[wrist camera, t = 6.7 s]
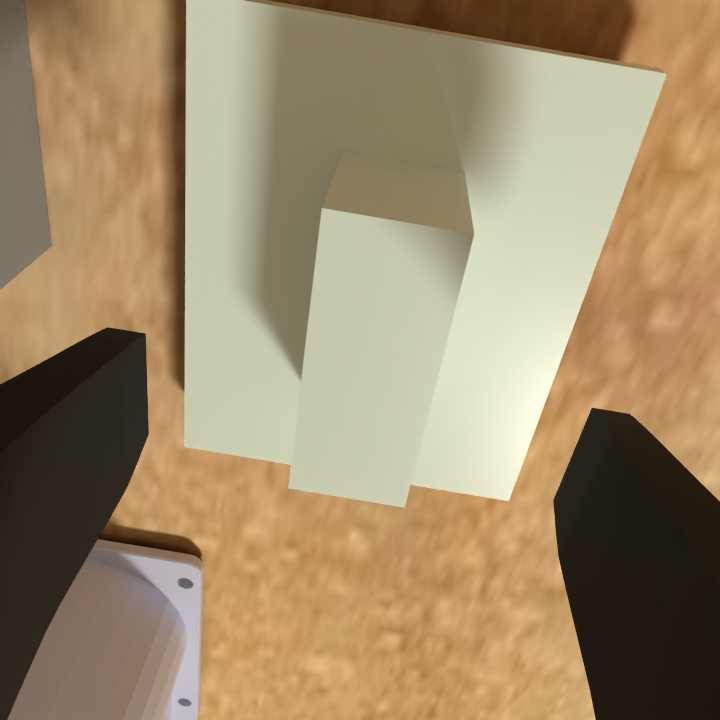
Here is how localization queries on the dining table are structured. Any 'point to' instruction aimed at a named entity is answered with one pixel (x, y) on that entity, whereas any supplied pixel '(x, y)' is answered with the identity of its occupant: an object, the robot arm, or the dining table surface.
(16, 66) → the box
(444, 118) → the lid
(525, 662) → the dining table surface
